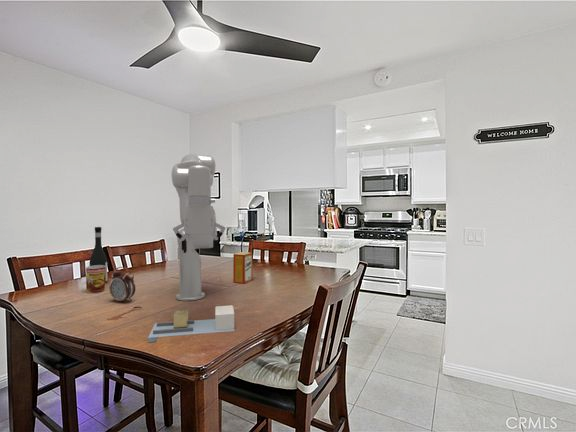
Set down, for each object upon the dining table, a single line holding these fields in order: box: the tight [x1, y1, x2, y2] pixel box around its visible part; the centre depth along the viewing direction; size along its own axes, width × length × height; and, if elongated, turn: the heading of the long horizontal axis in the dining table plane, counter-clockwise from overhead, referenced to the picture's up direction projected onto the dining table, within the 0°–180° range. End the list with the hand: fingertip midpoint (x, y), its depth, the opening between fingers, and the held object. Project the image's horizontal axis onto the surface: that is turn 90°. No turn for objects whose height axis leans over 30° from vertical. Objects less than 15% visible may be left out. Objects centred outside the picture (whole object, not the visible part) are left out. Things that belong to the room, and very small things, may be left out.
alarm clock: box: [108, 266, 136, 304], centre depth 136 cm, size 11×5×15 cm, turn 70°
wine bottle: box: [89, 226, 108, 284], centre depth 166 cm, size 8×8×30 cm
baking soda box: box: [232, 251, 254, 285], centre depth 174 cm, size 10×6×16 cm
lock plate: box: [147, 318, 235, 344], centre depth 105 cm, size 12×26×2 cm, turn 103°
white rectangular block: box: [214, 305, 235, 330], centre depth 107 cm, size 9×6×5 cm, turn 13°
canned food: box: [85, 265, 106, 295], centre depth 152 cm, size 8×8×12 cm
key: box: [107, 305, 143, 321], centre depth 121 cm, size 6×1×15 cm
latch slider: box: [173, 309, 189, 329], centre depth 104 cm, size 5×4×5 cm
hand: (199, 252), depth 108 cm, fingers open, 9 cm apart
